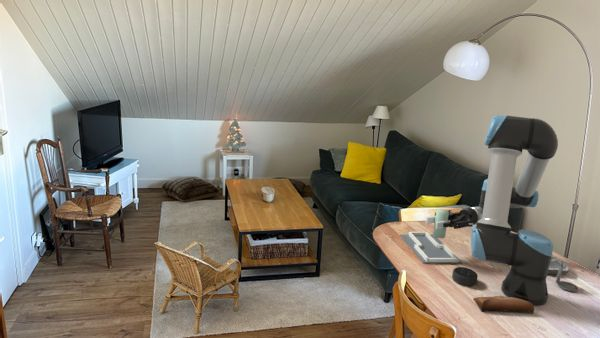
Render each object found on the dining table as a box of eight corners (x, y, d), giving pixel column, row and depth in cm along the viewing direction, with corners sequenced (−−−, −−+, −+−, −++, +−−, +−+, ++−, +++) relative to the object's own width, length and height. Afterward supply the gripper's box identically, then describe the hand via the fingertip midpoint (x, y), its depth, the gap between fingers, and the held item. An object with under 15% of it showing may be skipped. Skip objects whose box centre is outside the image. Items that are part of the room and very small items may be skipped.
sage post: (447, 238, 183) (451, 213, 180) (435, 238, 182) (439, 213, 179) (441, 233, 187) (445, 209, 184) (430, 233, 187) (434, 209, 184)
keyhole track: (462, 263, 181) (463, 259, 181) (423, 263, 179) (423, 259, 178) (433, 235, 208) (434, 231, 207) (399, 235, 206) (400, 231, 205)
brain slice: (560, 262, 189) (561, 255, 188) (570, 280, 173) (572, 273, 173) (511, 253, 195) (512, 247, 194) (516, 270, 179) (518, 263, 178)
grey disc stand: (581, 293, 163) (587, 268, 161) (558, 291, 163) (564, 267, 161) (569, 282, 171) (574, 258, 169) (547, 280, 171) (552, 257, 169)
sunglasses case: (520, 300, 155) (529, 290, 151) (527, 319, 150) (536, 310, 146) (471, 298, 155) (477, 288, 150) (476, 317, 150) (483, 307, 145)
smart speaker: (460, 288, 162) (462, 278, 161) (447, 276, 170) (448, 267, 169) (481, 286, 164) (483, 276, 163) (466, 274, 172) (468, 265, 171)
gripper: (486, 232, 184) (446, 240, 174) (454, 216, 200) (415, 223, 189) (490, 215, 182) (449, 222, 172) (457, 201, 198) (417, 207, 187)
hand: (431, 223), depth 180 cm, fingers closed on sage post, 5 cm apart
